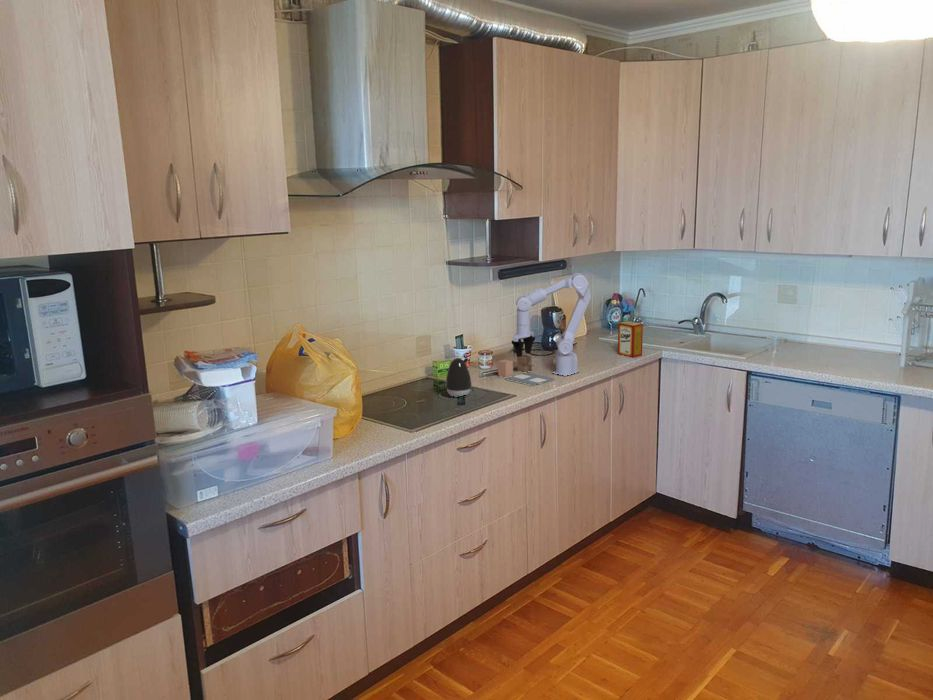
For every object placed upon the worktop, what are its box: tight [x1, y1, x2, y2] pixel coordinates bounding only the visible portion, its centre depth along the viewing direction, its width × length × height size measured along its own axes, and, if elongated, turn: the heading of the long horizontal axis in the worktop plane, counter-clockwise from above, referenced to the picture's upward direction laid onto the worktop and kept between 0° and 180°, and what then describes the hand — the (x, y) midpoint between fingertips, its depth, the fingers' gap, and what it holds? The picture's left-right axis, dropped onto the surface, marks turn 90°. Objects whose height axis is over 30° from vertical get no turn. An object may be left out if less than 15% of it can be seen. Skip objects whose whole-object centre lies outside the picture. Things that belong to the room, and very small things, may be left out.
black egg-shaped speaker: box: [445, 358, 472, 398], centre depth 279 cm, size 10×10×15 cm
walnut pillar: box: [516, 354, 533, 373], centre depth 315 cm, size 4×4×7 cm
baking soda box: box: [617, 320, 644, 359], centre depth 341 cm, size 10×6×16 cm
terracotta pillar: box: [497, 359, 514, 377], centre depth 307 cm, size 4×4×7 cm
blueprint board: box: [504, 372, 556, 385], centre depth 302 cm, size 14×16×1 cm
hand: (523, 354), depth 309 cm, fingers open, 7 cm apart
